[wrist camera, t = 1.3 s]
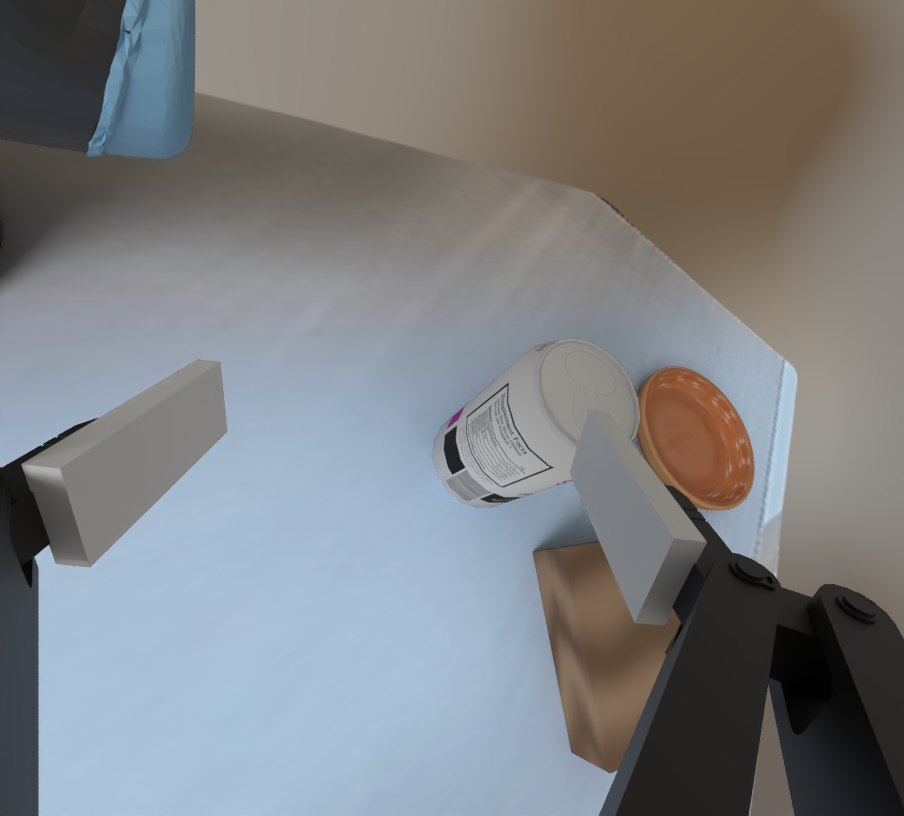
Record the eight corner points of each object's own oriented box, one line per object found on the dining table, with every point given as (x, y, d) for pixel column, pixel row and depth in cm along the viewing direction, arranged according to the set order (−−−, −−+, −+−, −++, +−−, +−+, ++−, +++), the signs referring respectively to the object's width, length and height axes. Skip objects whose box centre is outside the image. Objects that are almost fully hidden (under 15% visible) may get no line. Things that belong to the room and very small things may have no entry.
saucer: (669, 356, 53) (690, 344, 50) (749, 465, 51) (775, 459, 49) (596, 414, 44) (617, 403, 42) (689, 545, 43) (716, 543, 40)
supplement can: (443, 401, 37) (539, 306, 25) (523, 436, 39) (650, 365, 27) (417, 489, 34) (514, 430, 21) (507, 522, 36) (646, 487, 23)
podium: (532, 551, 36) (561, 548, 32) (653, 532, 41) (688, 527, 38) (571, 752, 31) (610, 773, 28) (700, 698, 37) (745, 710, 33)
